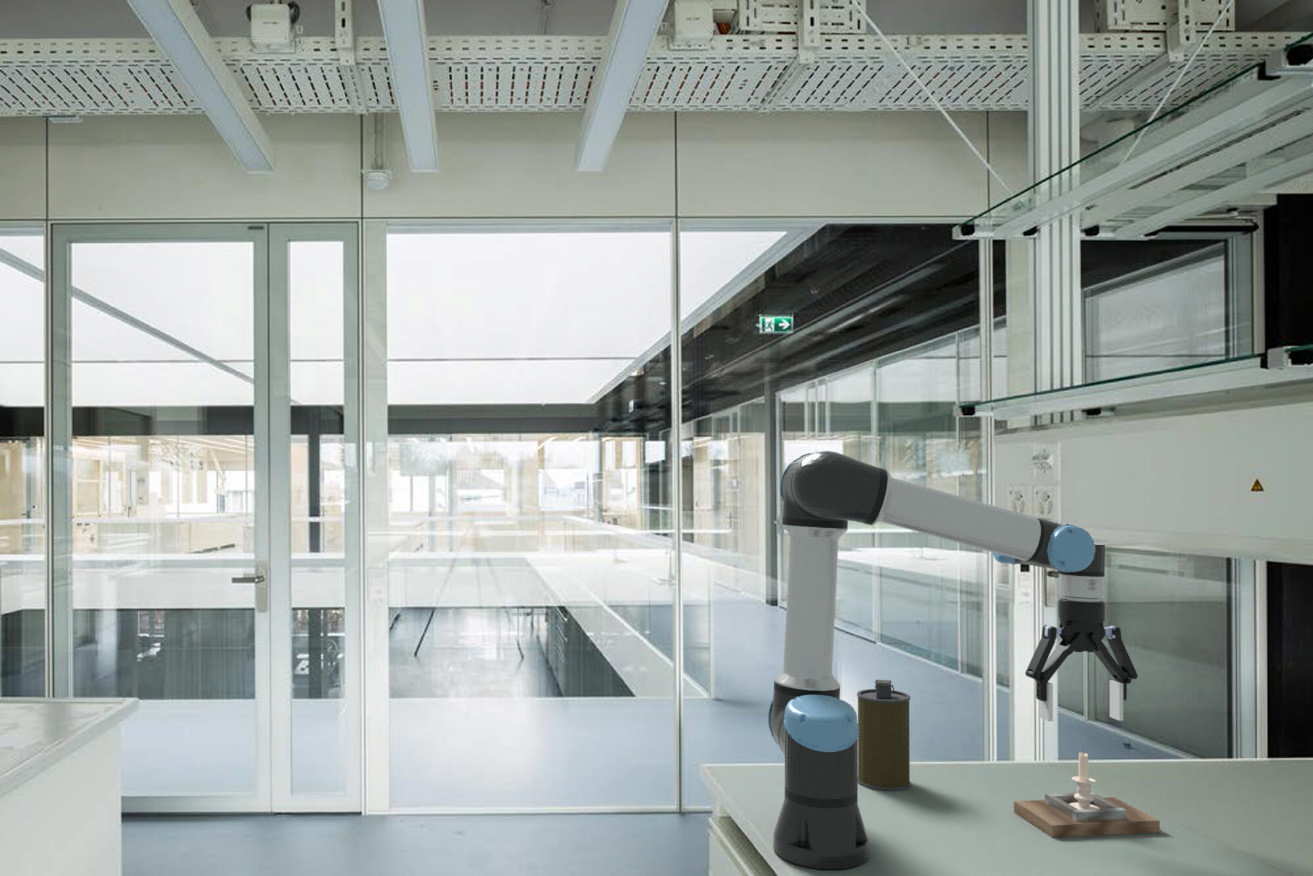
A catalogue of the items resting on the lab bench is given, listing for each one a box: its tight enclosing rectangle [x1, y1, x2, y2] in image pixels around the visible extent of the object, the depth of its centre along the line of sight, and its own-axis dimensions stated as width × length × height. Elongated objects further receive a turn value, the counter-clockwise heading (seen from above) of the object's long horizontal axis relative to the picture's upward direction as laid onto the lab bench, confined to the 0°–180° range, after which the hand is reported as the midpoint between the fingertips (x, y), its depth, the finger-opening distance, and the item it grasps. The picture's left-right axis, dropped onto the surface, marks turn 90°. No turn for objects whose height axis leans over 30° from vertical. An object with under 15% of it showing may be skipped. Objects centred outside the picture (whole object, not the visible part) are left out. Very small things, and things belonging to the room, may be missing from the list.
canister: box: [856, 679, 912, 792], centre depth 181 cm, size 11×10×20 cm
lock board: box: [1013, 791, 1161, 838], centre depth 160 cm, size 20×12×4 cm, turn 98°
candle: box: [1069, 750, 1099, 810], centre depth 160 cm, size 5×5×10 cm
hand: (1081, 719), depth 161 cm, fingers open, 13 cm apart
